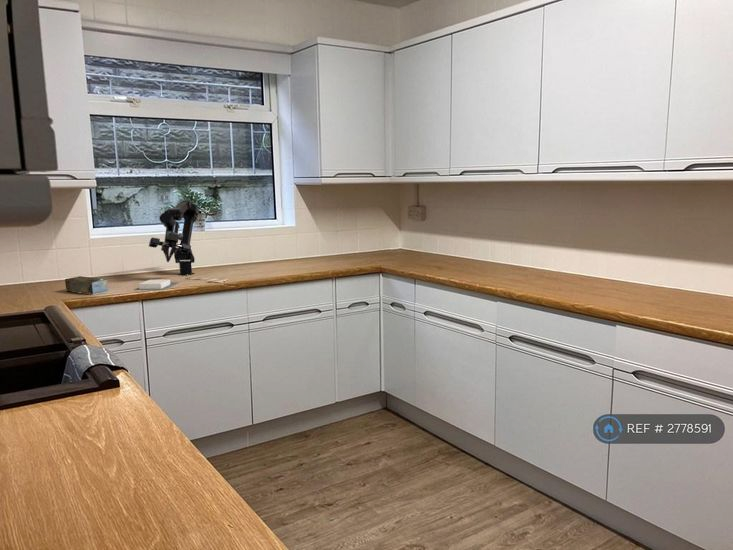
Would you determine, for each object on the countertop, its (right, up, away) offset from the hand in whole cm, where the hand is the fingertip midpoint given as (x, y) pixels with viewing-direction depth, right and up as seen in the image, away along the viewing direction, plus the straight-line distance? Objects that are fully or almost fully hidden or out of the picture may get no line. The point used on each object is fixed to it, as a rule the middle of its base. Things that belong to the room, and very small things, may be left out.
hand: (168, 261), depth 281 cm
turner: (+17, -9, +3) cm, 20 cm away
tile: (-1, -10, -9) cm, 13 cm away
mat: (-1, -12, -11) cm, 16 cm away
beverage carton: (-29, -14, -21) cm, 38 cm away
